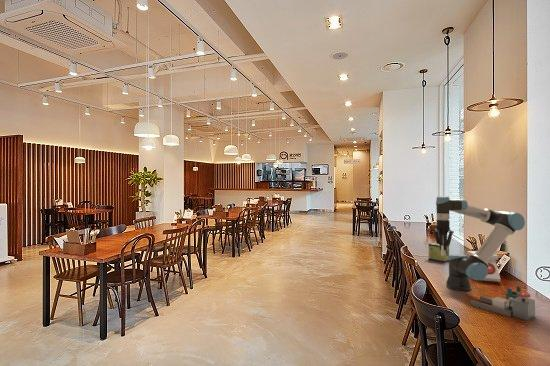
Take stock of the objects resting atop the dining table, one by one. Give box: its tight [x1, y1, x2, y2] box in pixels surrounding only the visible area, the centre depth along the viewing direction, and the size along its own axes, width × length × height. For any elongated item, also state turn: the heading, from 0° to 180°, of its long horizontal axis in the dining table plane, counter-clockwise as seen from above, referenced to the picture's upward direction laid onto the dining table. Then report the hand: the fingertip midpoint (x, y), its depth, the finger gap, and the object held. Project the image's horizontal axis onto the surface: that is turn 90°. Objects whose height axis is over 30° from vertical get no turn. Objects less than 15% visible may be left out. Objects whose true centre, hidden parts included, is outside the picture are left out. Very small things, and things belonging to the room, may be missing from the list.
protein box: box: [428, 242, 450, 263], centre depth 294 cm, size 10×16×16 cm
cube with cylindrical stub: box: [491, 296, 508, 310], centre depth 178 cm, size 6×8×6 cm
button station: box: [507, 291, 536, 322], centre depth 170 cm, size 10×10×12 cm
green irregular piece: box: [505, 285, 522, 300], centre depth 190 cm, size 9×9×9 cm
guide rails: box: [470, 295, 513, 317], centre depth 181 cm, size 14×20×2 cm
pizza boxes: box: [466, 250, 501, 283], centre depth 238 cm, size 19×30×18 cm, turn 157°
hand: (443, 255), depth 202 cm, fingers closed
